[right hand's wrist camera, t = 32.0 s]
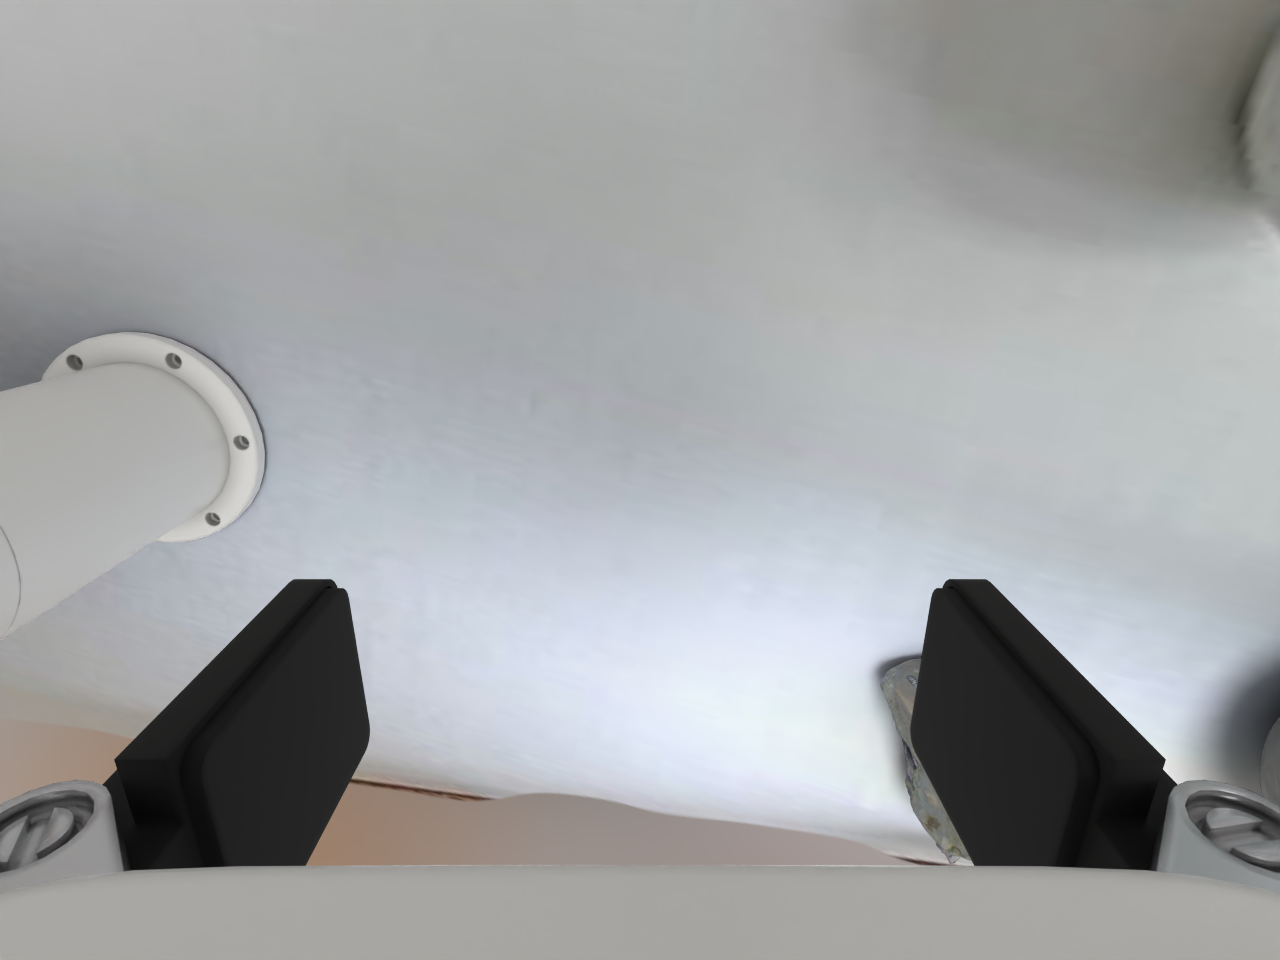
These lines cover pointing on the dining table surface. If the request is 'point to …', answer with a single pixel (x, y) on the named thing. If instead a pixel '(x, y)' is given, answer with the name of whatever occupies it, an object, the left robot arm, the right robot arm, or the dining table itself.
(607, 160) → the dining table surface
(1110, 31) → the dining table surface
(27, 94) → the dining table surface
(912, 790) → the mineral rock
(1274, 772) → the sculpture
